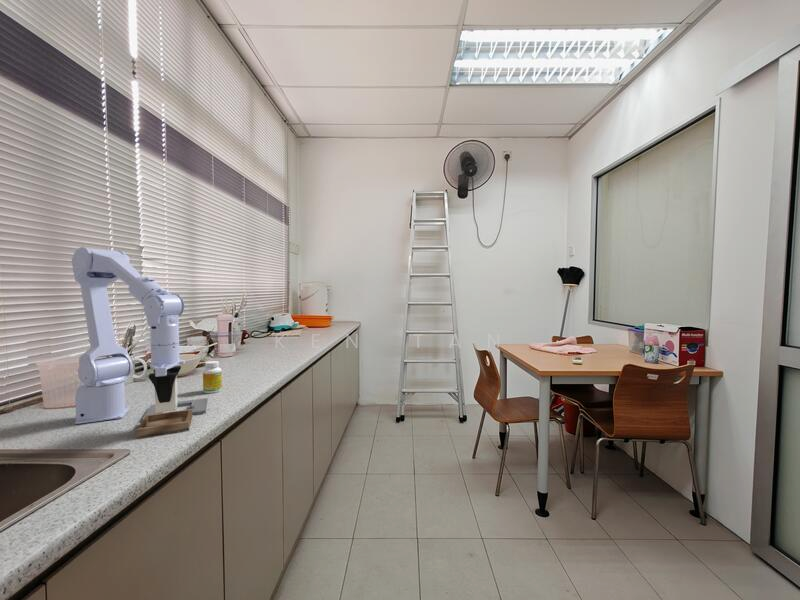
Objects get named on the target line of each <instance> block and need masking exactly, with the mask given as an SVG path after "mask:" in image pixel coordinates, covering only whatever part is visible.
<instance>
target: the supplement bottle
mask: <svg viewBox="0 0 800 600" xmlns="http://www.w3.org/2000/svg"><path fill="white" fill-rule="evenodd" d="M204 366H205V367H204V368H203V370H202V392H203V393H204V394H214V393H218V392H221V391H222V389H223V388H222V387H223V386H222V385H223V384H222V383H223V381H222V380H223V379H222V368H221V367H219V366H220V361H218V360H208V361H205V362H204Z"/></svg>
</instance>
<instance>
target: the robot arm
mask: <svg viewBox="0 0 800 600" xmlns="http://www.w3.org/2000/svg"><path fill="white" fill-rule="evenodd" d="M77 248H78V249H76V250H75V251H74V253H73V256H72V258H71V266H72V271H73V276H74V280H75V282H77V283H79V285H80V290H81V292H80V293H81V297H82V303H83V310H84V314H85V315H84V317H85V321H86V327H87V334H88V338H89V345H90V348H88V349H87V350H86V351H85V352H83V354H82V355H80V356H79V358H78V370H77V375H78V376H77V377H78V379H79V380H80V383H82V384H83V385H82V384H81V385H79V386H78V387H77V389H76V392H75V401H74V402H75V405H74V406H75V421H74V424H75V425H79V424H87V423H94V422H101V421H109V420H115V419H118V420H119V419H123V418H124V416H126V414H127V413H128V412H129V411H130V410H131V407H130V406H128V407H126V401H125V400H126V398H125V397H126V396H125V395H126V394H125V393H126V392H125V391H126V390H125V381H127V380H128V377H130V375H131V374H132V372H133V367H134V365H133V361H132V359H131V358H130V355H129V352H128V349H127V348H125V347H123V346H122V345H119V344H117V339H116V334H115V327H114V323H113V317H112V312H111V311H112V310H111V306H110V300H109V294H108V289H107V288H108V286H109V285H110V284H112V283H115V282H116V281H117V280H120V281H122V282H123V283H125V284H126V285H128V289H127V290H128V293H130V294H129V295H131V296H132V297H134V298H135V299H136V300H137V301H138V302H139V303H140V304H141V305H142V308H143V313H144V315H145V317H146V320H147V321H146V322H147V325H148V326H149V328H150V330H149V332H150V363H149V367H150V368H151V369H153V372H151V373H149V374H148V379H149V380H150V381H151V383H152V385H153V386H154V387H153V388H154V391H155V390H156V393H157V397H158V400H159V403H165V402H170V400H171V396H172V389H173V384H174V381H175V378H176V376H177V377H178V375H179V372H180V371H181V369H182V366H181V365H183V364H185V363H186V359H180V323H179V322H180V318H179V317H180V316H182V315H183V313H184V311H185V302H184V299H183V298H182V297H181V296H180V294H179V293H171V292H168V291H167V290H166V289H165V288H164V287H162V286H161V285H160V284H158V283H157V282H156V279H155V278H154V277H152V276H145V275H144V276H143V275H141V273H140V272H138V270H137V269H135V267H134V266H133V265H132V264H131V263H130V257H129V255H128V254H126V253H125V251H122V250H108V249H99V248H91V247H90V248H88V247H84V246H81V247H77Z"/></svg>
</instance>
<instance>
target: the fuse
mask: <svg viewBox="0 0 800 600" xmlns="http://www.w3.org/2000/svg"><path fill="white" fill-rule="evenodd" d="M178 402H179V401H178V375H177V376H176V378H175V381H174V384H173V389H172V396H171V400H170V402H165V403H159V400H158V397H157V393H156V390H155V389H154V403H155V404H154V405H155V413H160V412H163V413H166V412H173V411H177V408H178V407H177V406H178Z"/></svg>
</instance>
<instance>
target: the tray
mask: <svg viewBox="0 0 800 600" xmlns="http://www.w3.org/2000/svg"><path fill="white" fill-rule="evenodd" d="M143 417H144V416H143ZM192 419H193V415H192V409H191V408H189V409H182V410H175V411H167V412H163V413H159V414H151V415H146V416H145V417H144V419H143V420H142V419H141V422H140V424H139V425H138V427H137V428H136V439H141V438H148V437H155V436H160V435H161V436H162V435H166V434H168V435H169V434H173V433H179V432H178V431H181V432H186V431H185V430H187V431H189V430H190V428H189V427H191V423H192Z"/></svg>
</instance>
